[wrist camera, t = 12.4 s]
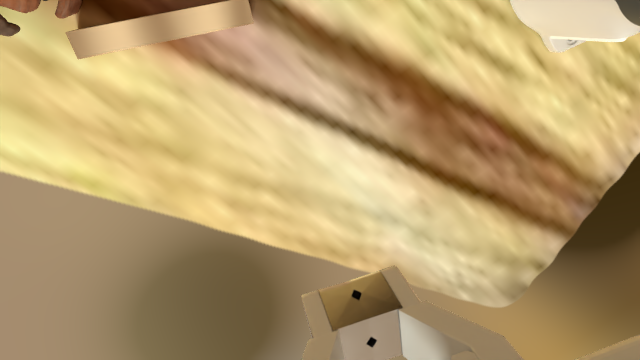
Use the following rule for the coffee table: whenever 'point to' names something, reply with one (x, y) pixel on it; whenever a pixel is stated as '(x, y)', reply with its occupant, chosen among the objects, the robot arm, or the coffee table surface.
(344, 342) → the robot arm
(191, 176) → the coffee table surface
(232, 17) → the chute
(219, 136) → the coffee table surface
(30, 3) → the broken brown clay pot
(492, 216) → the coffee table surface
